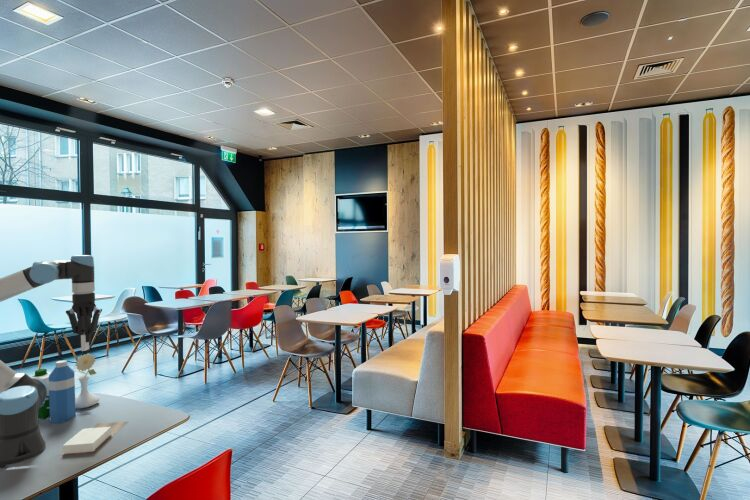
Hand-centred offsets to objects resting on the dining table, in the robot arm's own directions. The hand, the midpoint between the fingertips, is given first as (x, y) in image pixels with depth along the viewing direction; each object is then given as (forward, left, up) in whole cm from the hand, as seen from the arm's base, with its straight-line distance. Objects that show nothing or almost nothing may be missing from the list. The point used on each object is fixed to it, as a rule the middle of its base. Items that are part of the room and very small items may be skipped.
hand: (85, 349), depth 165 cm
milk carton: (-26, +16, -33) cm, 45 cm away
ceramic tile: (+9, -10, -30) cm, 33 cm away
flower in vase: (-14, +24, -33) cm, 43 cm away
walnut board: (+9, -10, -32) cm, 35 cm away
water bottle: (-16, +11, -33) cm, 38 cm away
